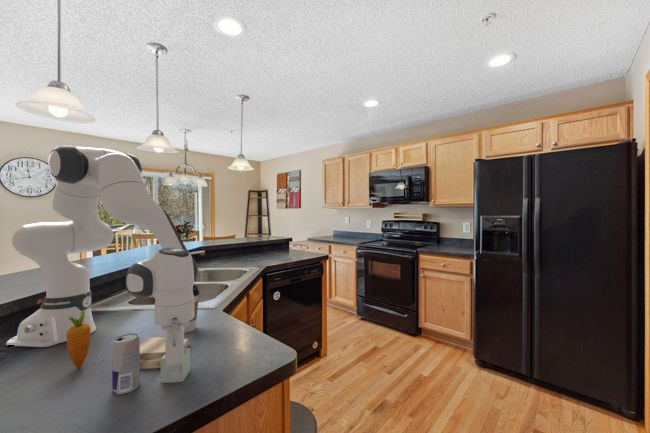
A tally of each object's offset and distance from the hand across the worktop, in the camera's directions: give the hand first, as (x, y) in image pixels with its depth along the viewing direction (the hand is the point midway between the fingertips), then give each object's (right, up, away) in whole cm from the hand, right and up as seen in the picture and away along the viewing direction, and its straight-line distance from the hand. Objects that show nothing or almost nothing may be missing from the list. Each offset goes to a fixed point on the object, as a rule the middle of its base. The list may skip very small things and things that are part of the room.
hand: (176, 367), depth 71 cm
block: (0, -3, 0) cm, 3 cm away
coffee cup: (-12, -3, +29) cm, 32 cm away
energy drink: (-9, -3, -5) cm, 11 cm away
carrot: (-29, -3, +5) cm, 29 cm away
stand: (-11, -2, +10) cm, 15 cm away
